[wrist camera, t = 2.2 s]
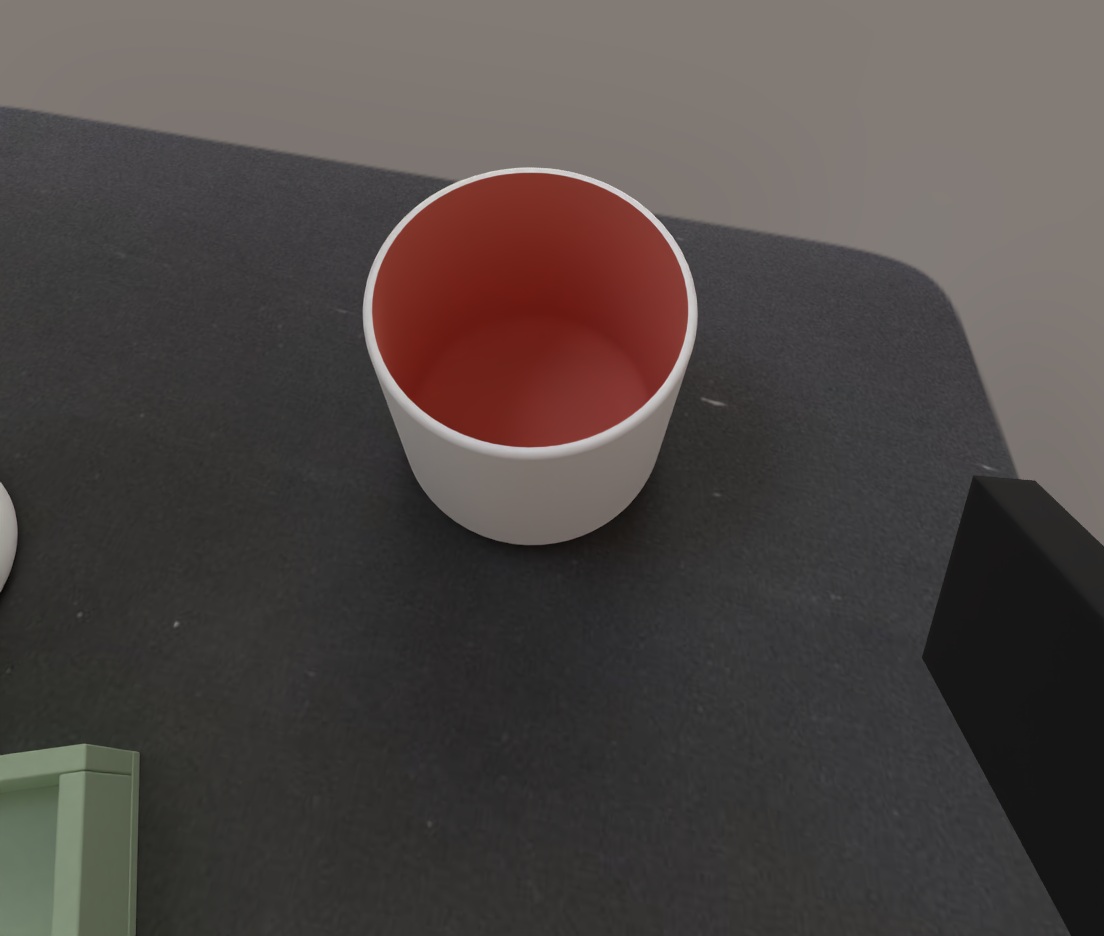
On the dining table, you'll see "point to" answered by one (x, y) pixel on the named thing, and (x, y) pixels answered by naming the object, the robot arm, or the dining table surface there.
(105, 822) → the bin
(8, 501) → the jar
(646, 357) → the cup
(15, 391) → the dining table surface
